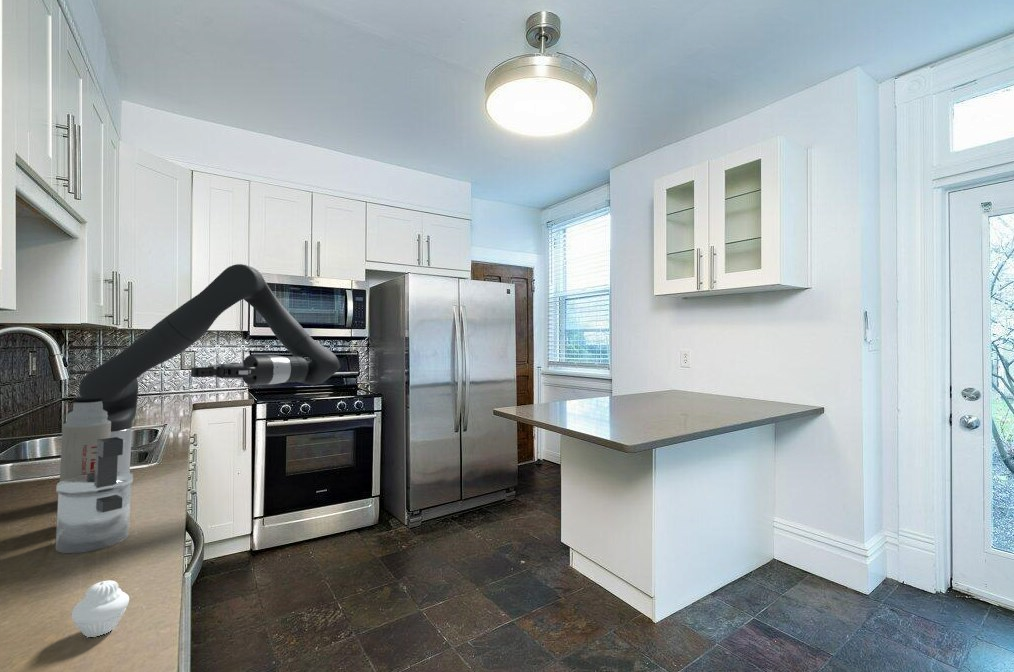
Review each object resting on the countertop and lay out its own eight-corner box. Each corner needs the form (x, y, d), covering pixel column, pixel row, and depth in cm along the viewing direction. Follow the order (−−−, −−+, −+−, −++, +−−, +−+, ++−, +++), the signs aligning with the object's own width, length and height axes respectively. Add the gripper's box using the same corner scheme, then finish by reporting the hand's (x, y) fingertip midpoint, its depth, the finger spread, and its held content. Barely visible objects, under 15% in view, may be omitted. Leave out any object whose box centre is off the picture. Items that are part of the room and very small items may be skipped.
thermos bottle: (112, 523, 102) (118, 397, 103) (64, 535, 95) (70, 400, 96) (99, 515, 106) (104, 394, 107) (52, 526, 100) (58, 397, 100)
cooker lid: (48, 486, 92) (51, 435, 92) (121, 474, 101) (123, 427, 102) (70, 502, 84) (73, 445, 84) (147, 486, 94) (149, 436, 94)
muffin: (77, 625, 66) (80, 576, 66) (131, 614, 69) (134, 567, 69) (63, 650, 61) (66, 597, 61) (123, 637, 64) (125, 586, 64)
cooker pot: (47, 543, 91) (50, 488, 92) (116, 525, 101) (118, 475, 101) (72, 562, 84) (75, 502, 84) (144, 541, 93) (146, 487, 94)
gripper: (252, 354, 122) (179, 354, 107) (282, 356, 115) (208, 356, 100) (251, 382, 122) (177, 386, 107) (281, 386, 115) (206, 391, 100)
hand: (192, 372), depth 104 cm, fingers closed
